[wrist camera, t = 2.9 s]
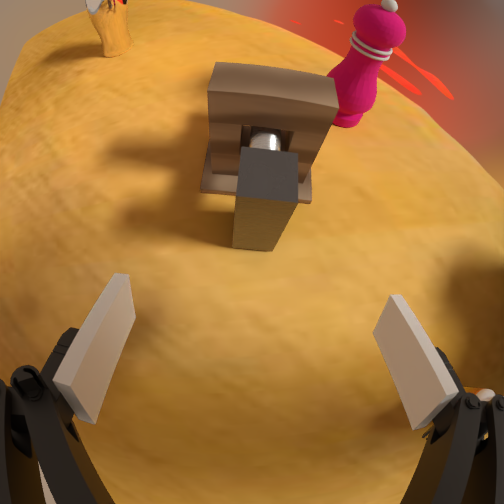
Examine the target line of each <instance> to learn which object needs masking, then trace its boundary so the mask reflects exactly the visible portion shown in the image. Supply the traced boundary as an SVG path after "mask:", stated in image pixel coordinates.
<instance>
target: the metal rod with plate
mask: <svg viewBox="0 0 504 504" xmlns="http://www.w3.org/2000/svg"><path fill="white" fill-rule="evenodd" d="M280 147H281V129H273V128H265V127H257V126H251V132H250V142H249V147H241V155H240V164H239V172H238V181H237V190H236V201H235V214H234V228H233V243H232V248H241V249H252V250H263V251H273V249H274V247H275V245H276V244H277V242H278V240H279V238H280V236H281V234H282V232H283V231H284V229H285V227H286V225H287V223H288V221H289V219H290V217H291V216H292V214H293V212H294V210H295V208H296V206H297V204H298V153H292V152H285V151H280Z"/></svg>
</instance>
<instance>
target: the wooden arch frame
mask: <svg viewBox="0 0 504 504" xmlns="http://www.w3.org/2000/svg"><path fill="white" fill-rule="evenodd" d="M207 93H208V115H209V134H210V139H209V144H208V149H207V154H206V159H205V165H204V170H203V176H202V181H201V187H200V191H201V193H213V194H225V195H235V196H236V190H237V181H238V172H239V164H240V155H241V147H249V142H250V132H251V126H257V127H265V128H273V129H281V147H280V151H285V152H292V153H298V202H299V203H307V204H310V203H311V201H312V186H311V166H312V164H313V162H314V160H315V158H316V156H317V154H318V152H319V150H320V147H321V145H322V143H323V141H324V139H325V137H326V135H327V133H328V131H329V129H330V127H331V125H332V123H333V120H334V118H335V116H336V114H337V112H338V110H339V104H338V98H337V93H336V88H335V82H334V78H331V77H326V76H322V75H317V74H312V73H307V72H301V71H296V70H290V69H283V68H276V67H269V66H261V65H251V64H240V63H226V62H216V63H215V66H214V69H213V73H212V76H211V80H210V83H209V87H208V90H207ZM245 125H247V126H245Z"/></svg>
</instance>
